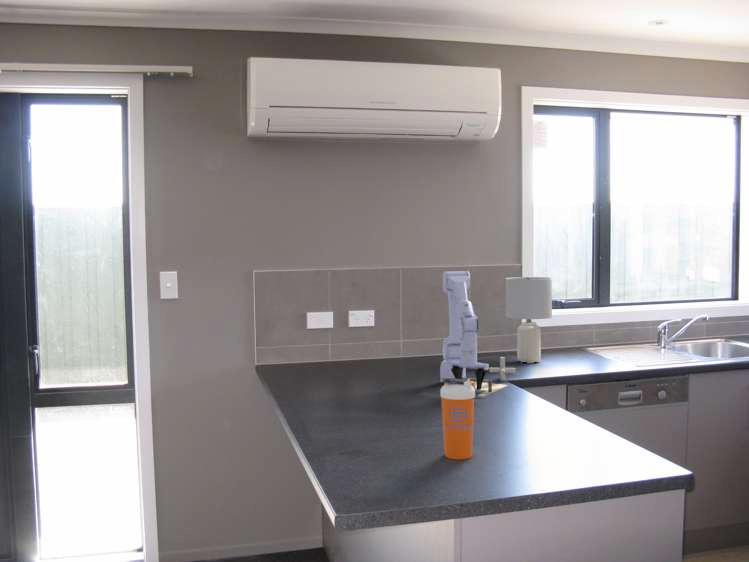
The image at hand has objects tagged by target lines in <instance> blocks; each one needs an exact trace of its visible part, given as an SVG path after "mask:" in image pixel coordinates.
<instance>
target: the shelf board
mask: <svg viewBox="0 0 749 562" xmlns="http://www.w3.org/2000/svg"><path fill="white" fill-rule="evenodd" d="M468 378H469V379H470V381H474V382H475V391H476V390H477V380H476V378H470V377H468ZM463 379H464V378H462V380H463ZM508 386H509V384H503V383H502V384H501V383H493V380H492V379H490V380H489V379H483V382H482V387H481V389H480V390H479V391H484V392H482V393H479V394H478V395H477V398H476V400H482V399H483V400H485V398H482V397H486V396H488V395H490V394H492V393H495V392H496V391H499V390H501V389H503V388H505V387H508ZM477 391H478V390H477ZM483 400H482V401H483Z"/></svg>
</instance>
